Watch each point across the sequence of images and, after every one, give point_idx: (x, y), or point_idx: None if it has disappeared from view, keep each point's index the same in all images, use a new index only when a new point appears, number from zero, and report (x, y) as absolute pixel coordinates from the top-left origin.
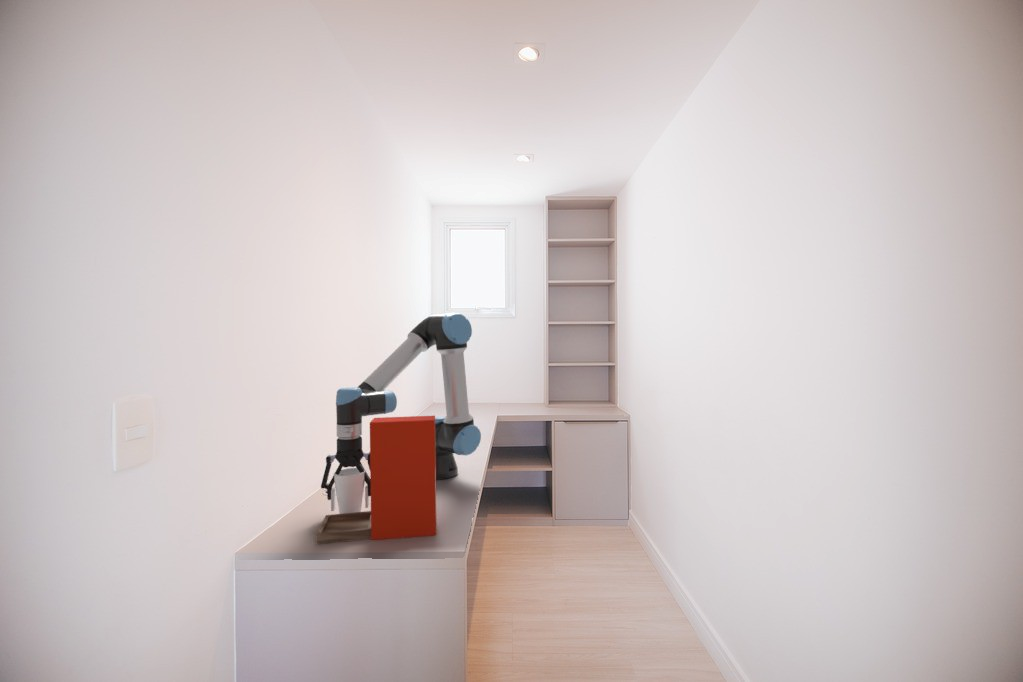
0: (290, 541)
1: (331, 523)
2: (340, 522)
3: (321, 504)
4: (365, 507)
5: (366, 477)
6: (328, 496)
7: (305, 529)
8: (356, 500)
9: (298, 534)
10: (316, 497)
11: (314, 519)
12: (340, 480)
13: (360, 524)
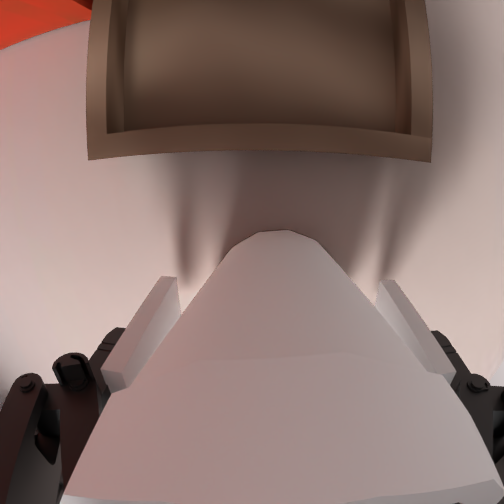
0: (500, 12)
1: (376, 98)
2: (320, 96)
3: None
4: (175, 279)
5: (70, 451)
6: (445, 347)
7: (485, 118)
8: (216, 275)
9: (498, 69)
10: None
11: (458, 246)
12: (449, 414)
13: (181, 33)
